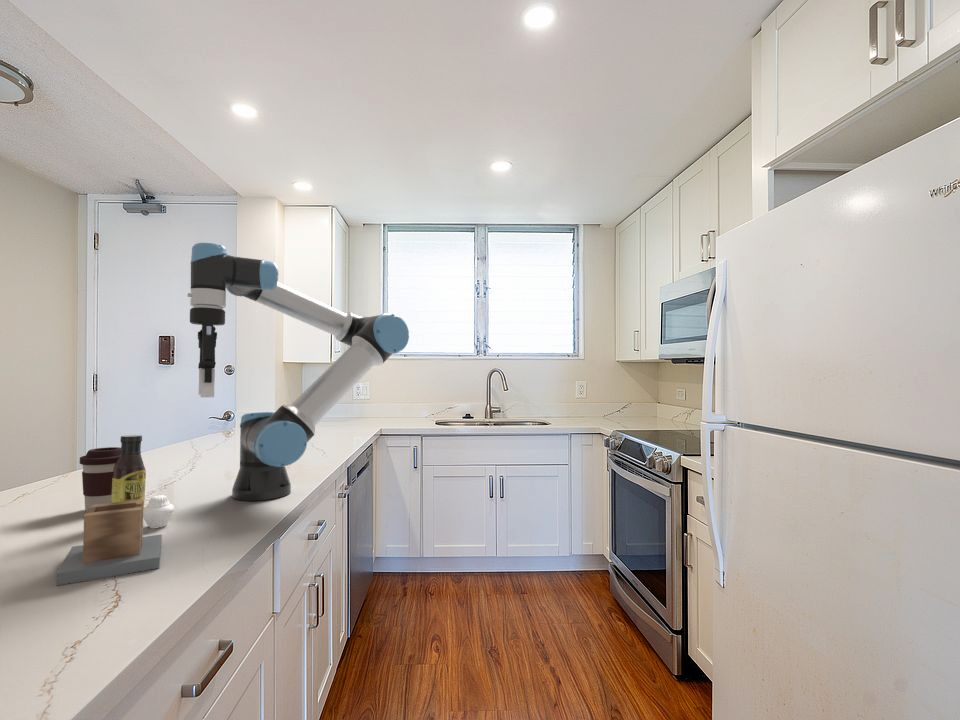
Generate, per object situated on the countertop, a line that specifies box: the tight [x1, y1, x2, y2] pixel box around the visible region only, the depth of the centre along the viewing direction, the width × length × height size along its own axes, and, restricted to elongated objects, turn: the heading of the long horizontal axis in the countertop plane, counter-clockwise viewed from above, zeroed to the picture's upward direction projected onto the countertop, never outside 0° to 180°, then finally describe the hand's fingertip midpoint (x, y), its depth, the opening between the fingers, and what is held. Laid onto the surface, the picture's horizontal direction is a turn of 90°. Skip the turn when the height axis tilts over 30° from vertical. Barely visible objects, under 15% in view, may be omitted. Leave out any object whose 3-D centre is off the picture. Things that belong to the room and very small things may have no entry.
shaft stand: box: [55, 533, 163, 587], centre depth 89 cm, size 14×14×8 cm
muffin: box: [143, 494, 175, 529], centre depth 110 cm, size 6×6×7 cm
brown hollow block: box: [82, 499, 145, 563], centre depth 90 cm, size 8×8×8 cm
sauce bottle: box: [111, 434, 147, 509], centre depth 113 cm, size 6×6×20 cm
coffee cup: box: [79, 446, 121, 513], centre depth 123 cm, size 10×10×15 cm
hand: (206, 396), depth 119 cm, fingers open, 13 cm apart
